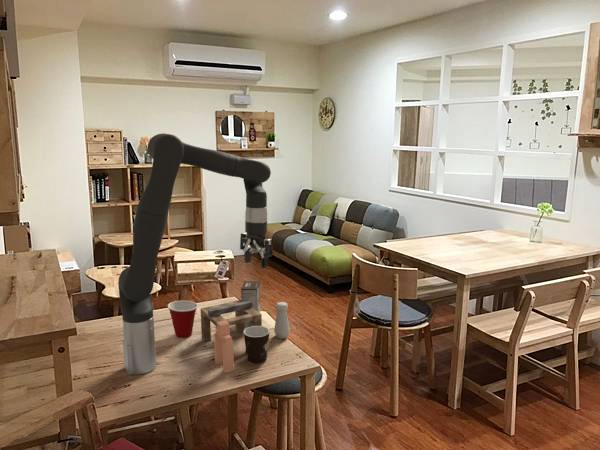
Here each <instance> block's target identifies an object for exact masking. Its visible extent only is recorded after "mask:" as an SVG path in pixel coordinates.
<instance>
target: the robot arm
mask: <svg viewBox="0 0 600 450" xmlns="http://www.w3.org/2000/svg"><path fill="white" fill-rule="evenodd" d="M147 152H148V154H149V156H150V158H151V160H153V161H152V166H151V173H150V177H149V180H148V183H147V185H146V187H145V188H144V190H143V192H142V194H141V196H140V199H139V201H138V205H137V207H136V212H135V217H134V220H133V226H132V227H133V230H132V256H131V260H130V264H129V266H126V268H124V269H122V271H121V272H120V274H119V277H118V280H117V281H118V285H117V286H118V295H119V296H118V297H119V305H120V306H119V307H120V312H121V316H122V327H123V328H122V329H123V330H122V331H123V340H122V349H123V350H122V352H123V353H122V354H123V363H124V365H123V366H124V368H125V370H126V372H127V374H128V375H129V376H131V375H144V374H148V373H150V372H153V370H155V368H156V367H157V353H156V341H155V340H156V339H155V338H156V337H155V321H154V309H153V304H152V301H151V299H152V298H151V293H152V292H153V289H154V284H155V275H156V267H157V261H158V260H157V259H158V256H159V252H160V249H161V245H162V242H163V237H164V232H165V229H166V225H167V220H168V215H169V211H170V206H171V202H172V201H171V200H172V197H173V191H174V185H175V182H176V178H177V176H178V173H179V170H180V167H181V165H182V164H183V165H187V166H193V167H196V168H200V169H203V170H206V171H209V172H212V173H216V174H219V175H223V176H229V177H234V178H241V179H242V180H243V184H244V190H245V195H246V197H245V211H244V212H245V213H244V215H245V216H244V217H245V219H244V230H245V231H244V232H242V233H240V240H239V248H240V250H242V251H243V252H244V262H245V263H246V264H248V263H251V260H252V253H251V251H252V249H255V250H257V252H258V253H259V254H260V256H261V259H260V267H261V269H266V268H267V267H268V265H269V258H270V257H272V256H274V254H273V253H274V252H273V249H274V248H273V239H272V238H267V237H266V235H267V233H268V207H267V206H268V196H267V194H268V193H267V192H266V190H265V189H264V187H263V183H265V182H267V181H268V180H269V178H270V177H271V175H272V174H271V173H272V172H271V168H270V167H269V165H268V164H267V163H266V162H263V161H259V160H254V159H249V158H244V157H242V156H239V155H236V154H231V153H227V152H224V151H220V150H215V149H209V148H203V147H200V146H199V147H198V146H195V145H191V144H189V143H185V142H184V141H182V140H181V139H180V138H179V137H178V136H177V135H174V134H170V133H163V132H162V133H158V134H156V135H153V136H152V137H151V138H150V139H149V141H148V143H147Z"/></svg>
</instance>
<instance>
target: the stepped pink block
mask: <svg viewBox="0 0 600 450" xmlns="http://www.w3.org/2000/svg"><path fill="white" fill-rule="evenodd" d="M214 332H215V333H213V338H214V339H213V341H214V342H213V343H214V344H213V345H214V362H215V364H216V365H218V364H222V371H223V372H224V373H229V372H232V371H234V370H235V365H234V362H235V361H234V341H233V338H232V336H231V335H230V332H231V331H230V326H229V323H228V322H227V321H226V320H224V321H220V322H217V329H216V328H215V331H214Z"/></svg>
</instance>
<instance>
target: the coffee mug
mask: <svg viewBox="0 0 600 450" xmlns="http://www.w3.org/2000/svg"><path fill="white" fill-rule="evenodd" d="M270 332H271V330H270V329H269V328H268V327H266V326H263V325H262V326H251V327H248V328H245V330H244V331H243V337H244V338H243V340H244V347H245V354H246V359H247V362H249V364H254V365H258V364H263V363H265V362H266V361H267V359H268V352H269V351H268V350H269V342H270V341H269V340H270Z"/></svg>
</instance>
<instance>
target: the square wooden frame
mask: <svg viewBox="0 0 600 450" xmlns="http://www.w3.org/2000/svg"><path fill="white" fill-rule="evenodd" d="M230 313H235V315H234V317H229V318H224V317H223V316H222V315H225V314H230ZM244 314H245V315H244ZM262 316H263V315H262V313H261V312H260V313H259V312H258V311H256V310H255V309H253V308H252V302H251V301H246V302H244V301H242V299H239V300H238V299H237V300H234V301H230V302H224V303H219V304H215V305H210V306H206V307H201V308H200V325H201V326H200V327H201V328H200V329H201V331H200V332H201V340H202V342H204V343H207V342H211V341H212V333H211V331H212V330H211V329H212V328H211V323H212V324H213V325H214V326H215V329H217V322H220V321H224V320H226V321H227V322H228V323H229V327H230V326H231V327H232V326H235V332H236V333H238V334H244V332H243V331H244V330H245V329H246V328H245V322H248V321H252V326H263V325H262V324H263V322H262V319H263V318H262Z"/></svg>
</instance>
